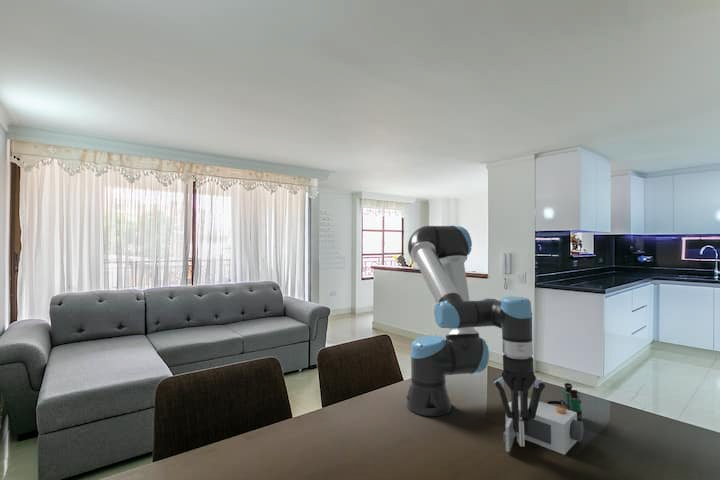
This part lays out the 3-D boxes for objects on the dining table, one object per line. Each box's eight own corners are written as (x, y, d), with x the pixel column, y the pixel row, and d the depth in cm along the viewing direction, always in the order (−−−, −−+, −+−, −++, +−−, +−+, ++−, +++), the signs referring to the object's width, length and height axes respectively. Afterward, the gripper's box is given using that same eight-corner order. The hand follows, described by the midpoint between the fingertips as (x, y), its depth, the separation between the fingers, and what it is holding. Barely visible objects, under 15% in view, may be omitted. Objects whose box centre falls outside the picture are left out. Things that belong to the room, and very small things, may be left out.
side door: (510, 432, 105) (510, 410, 105) (516, 433, 105) (516, 411, 105) (503, 450, 96) (503, 425, 96) (509, 452, 95) (509, 427, 96)
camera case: (505, 432, 107) (505, 402, 107) (520, 420, 114) (520, 392, 114) (572, 458, 94) (572, 424, 94) (585, 443, 101) (584, 412, 101)
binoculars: (540, 382, 120) (573, 381, 118) (544, 414, 120) (577, 414, 118) (549, 393, 112) (584, 392, 110) (553, 427, 111) (589, 427, 109)
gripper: (496, 359, 95) (499, 450, 94) (547, 359, 93) (551, 452, 92) (490, 350, 102) (493, 435, 101) (537, 351, 100) (540, 437, 100)
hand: (520, 443), depth 97 cm, fingers closed
